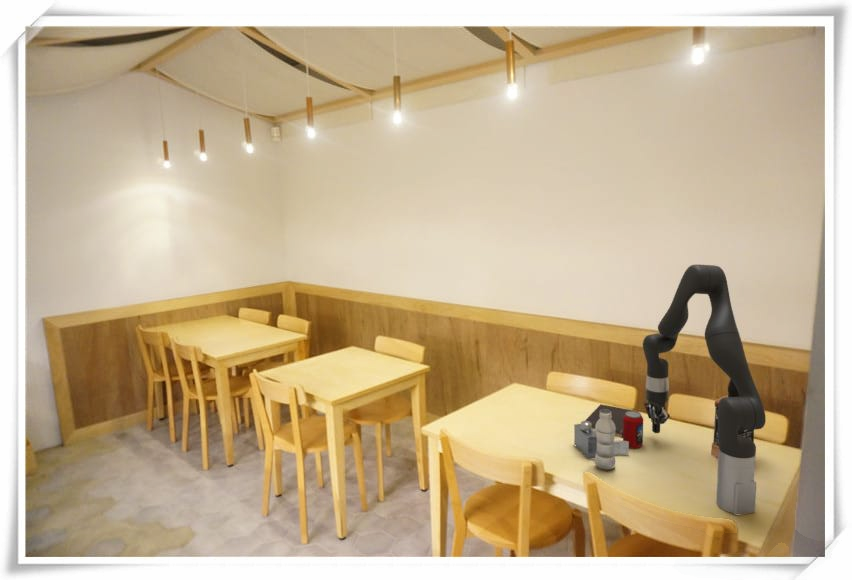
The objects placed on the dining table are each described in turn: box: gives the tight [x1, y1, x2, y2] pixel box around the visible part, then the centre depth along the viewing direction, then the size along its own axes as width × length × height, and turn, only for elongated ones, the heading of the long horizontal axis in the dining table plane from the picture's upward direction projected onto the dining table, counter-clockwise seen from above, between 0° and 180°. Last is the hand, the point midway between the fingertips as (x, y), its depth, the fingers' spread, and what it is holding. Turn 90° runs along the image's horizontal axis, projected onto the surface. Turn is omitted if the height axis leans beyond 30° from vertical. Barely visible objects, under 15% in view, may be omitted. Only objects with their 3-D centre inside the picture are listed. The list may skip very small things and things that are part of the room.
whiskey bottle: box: [710, 377, 755, 459], centre depth 185 cm, size 10×10×32 cm
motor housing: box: [573, 420, 630, 460], centre depth 198 cm, size 15×14×11 cm
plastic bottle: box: [594, 410, 616, 471], centre depth 184 cm, size 6×7×20 cm
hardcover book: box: [584, 403, 639, 439], centre depth 220 cm, size 16×23×2 cm
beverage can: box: [622, 410, 644, 449], centre depth 200 cm, size 7×7×12 cm
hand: (655, 432), depth 201 cm, fingers closed
